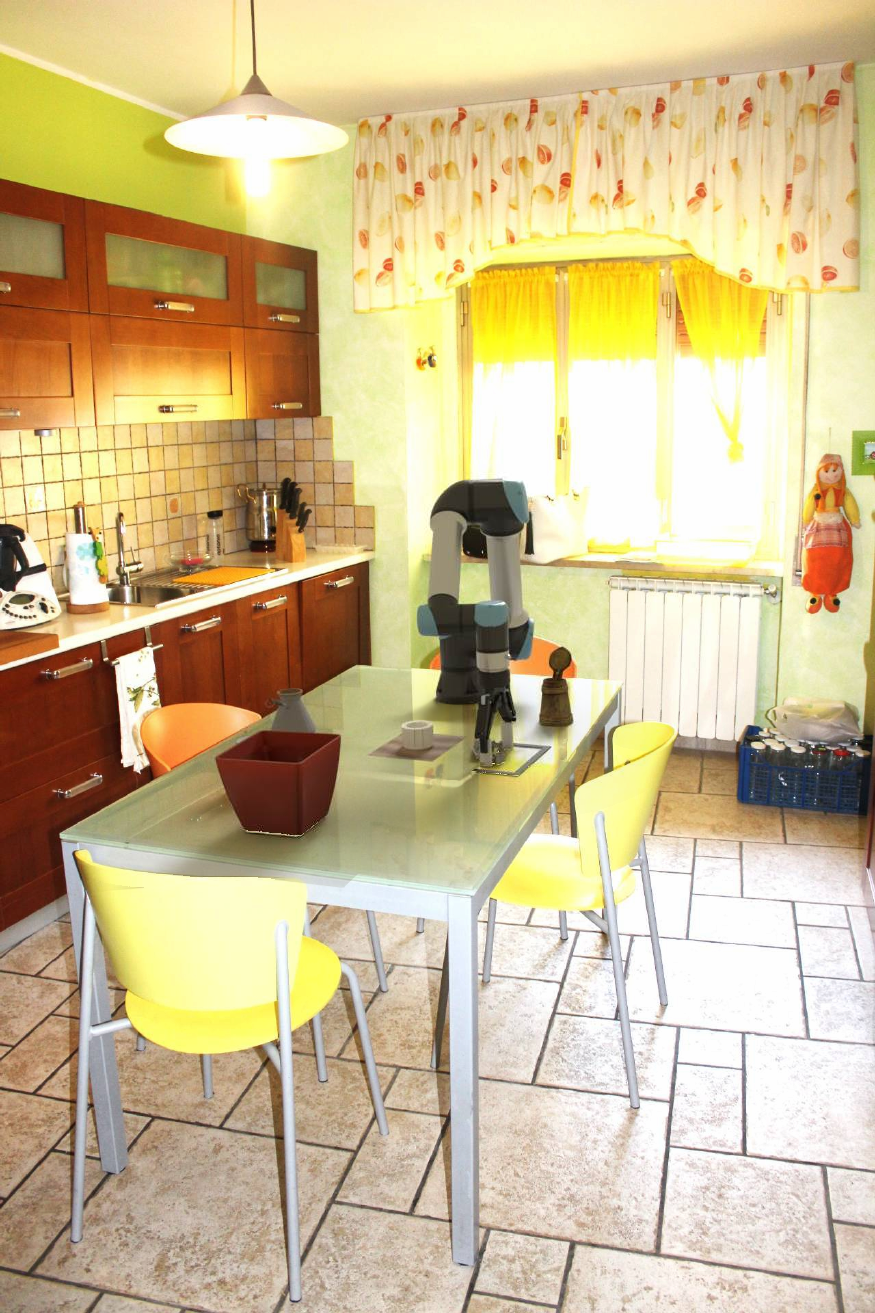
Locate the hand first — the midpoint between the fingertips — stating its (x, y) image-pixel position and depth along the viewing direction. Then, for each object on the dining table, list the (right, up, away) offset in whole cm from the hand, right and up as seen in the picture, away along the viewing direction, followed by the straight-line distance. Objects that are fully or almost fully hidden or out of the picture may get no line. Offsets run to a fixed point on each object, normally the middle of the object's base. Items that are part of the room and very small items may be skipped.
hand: (497, 757), depth 259 cm
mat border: (0, 0, 0) cm, 0 cm away
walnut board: (-19, +1, +9) cm, 21 cm away
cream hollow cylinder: (-19, +2, +9) cm, 21 cm away
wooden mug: (+18, +7, +29) cm, 35 cm away
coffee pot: (-51, +1, +18) cm, 54 cm away
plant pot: (-45, -11, -35) cm, 58 cm away
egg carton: (-2, -1, 0) cm, 2 cm away
